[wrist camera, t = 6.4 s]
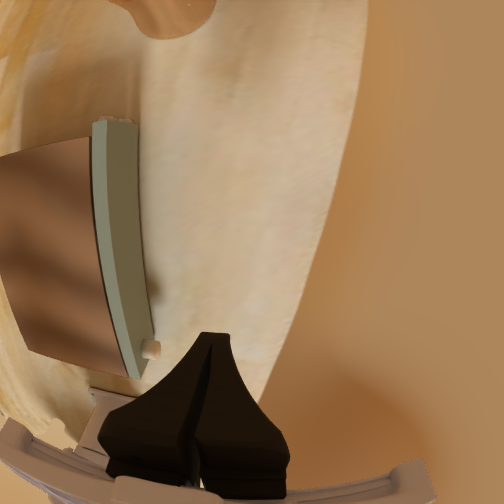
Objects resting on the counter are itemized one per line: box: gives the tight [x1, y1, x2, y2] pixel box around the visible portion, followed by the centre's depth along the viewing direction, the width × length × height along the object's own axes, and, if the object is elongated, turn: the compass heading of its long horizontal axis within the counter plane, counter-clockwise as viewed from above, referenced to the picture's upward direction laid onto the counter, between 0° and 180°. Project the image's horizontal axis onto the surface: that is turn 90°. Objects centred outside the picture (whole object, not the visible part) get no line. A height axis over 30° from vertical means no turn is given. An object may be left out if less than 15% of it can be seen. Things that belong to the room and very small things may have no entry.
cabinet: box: [0, 137, 129, 377], centre depth 18 cm, size 18×12×5 cm, turn 177°
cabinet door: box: [92, 115, 161, 379], centre depth 18 cm, size 19×2×5 cm, turn 177°
